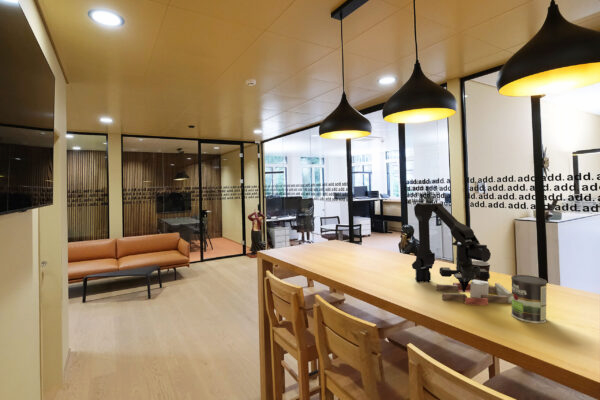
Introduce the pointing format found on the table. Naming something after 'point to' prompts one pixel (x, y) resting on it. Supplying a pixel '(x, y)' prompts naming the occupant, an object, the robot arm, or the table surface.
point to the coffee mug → (482, 266)
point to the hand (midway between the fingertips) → (463, 292)
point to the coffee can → (529, 298)
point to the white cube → (479, 288)
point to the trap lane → (499, 289)
